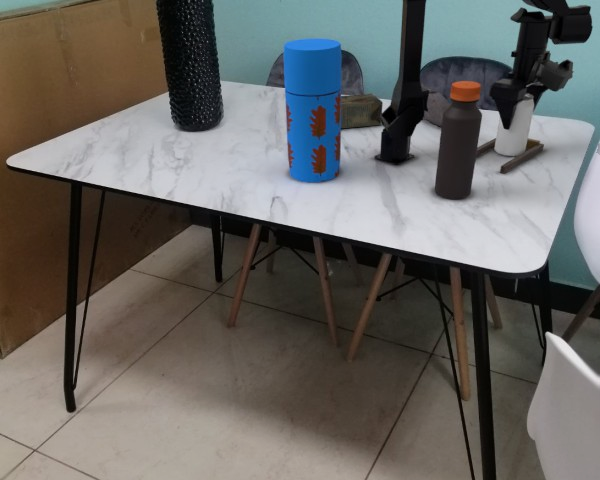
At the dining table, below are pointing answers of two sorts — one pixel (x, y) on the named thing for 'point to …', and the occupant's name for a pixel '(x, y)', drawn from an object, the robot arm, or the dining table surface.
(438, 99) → the perforated stone tool
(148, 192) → the dining table surface
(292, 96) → the thermos
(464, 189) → the bottle
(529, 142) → the brown wooden bent bar
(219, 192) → the dining table surface
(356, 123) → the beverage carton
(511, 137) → the can
